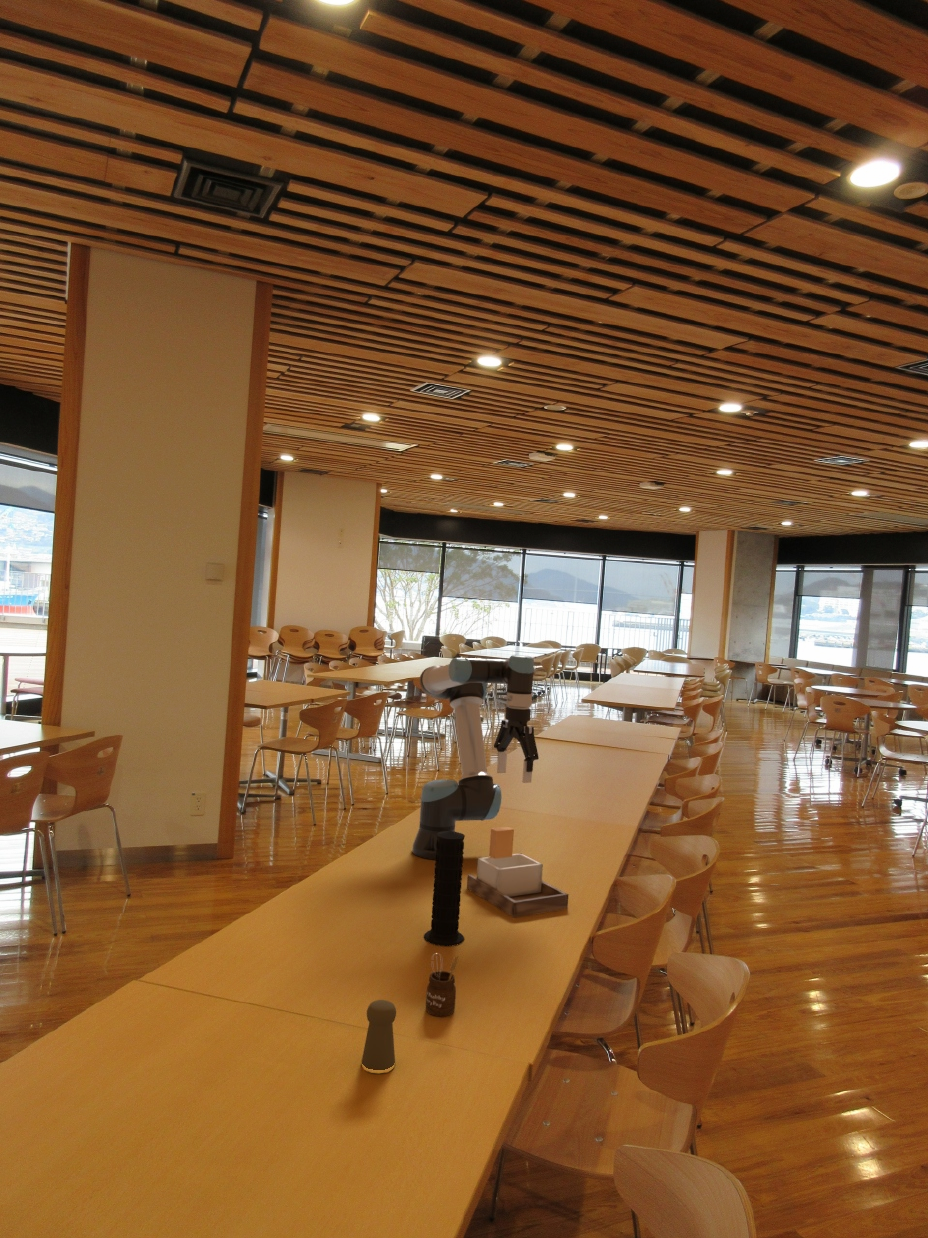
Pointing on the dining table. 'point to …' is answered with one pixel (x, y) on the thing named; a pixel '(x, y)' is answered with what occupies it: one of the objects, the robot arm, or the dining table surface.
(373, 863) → the dining table surface
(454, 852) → the handle grip
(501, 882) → the box
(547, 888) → the bay
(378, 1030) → the grey pepper shaker
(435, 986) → the utensil holder
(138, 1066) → the dining table surface
